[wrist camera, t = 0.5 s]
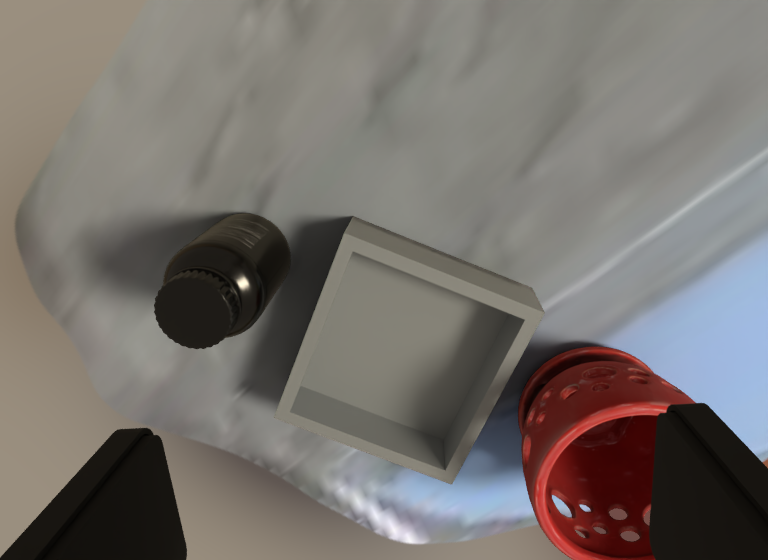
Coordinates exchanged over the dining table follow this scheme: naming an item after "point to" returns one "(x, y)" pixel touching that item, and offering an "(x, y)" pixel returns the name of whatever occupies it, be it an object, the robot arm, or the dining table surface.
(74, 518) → the robot arm
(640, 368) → the plant pot
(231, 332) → the supplement bottle
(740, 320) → the dining table surface
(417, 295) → the tray
